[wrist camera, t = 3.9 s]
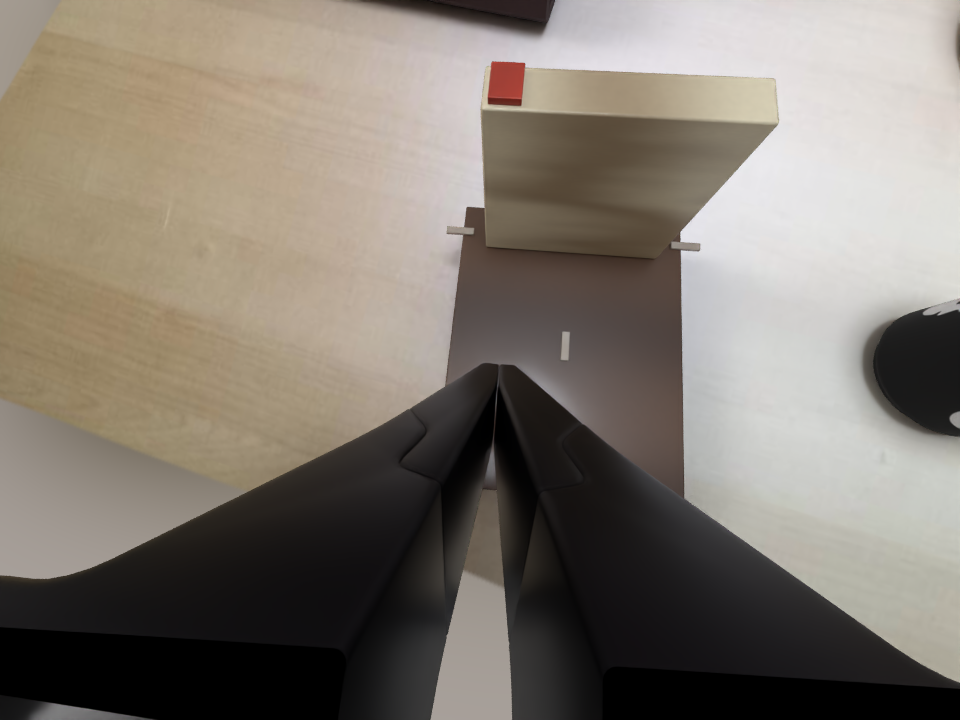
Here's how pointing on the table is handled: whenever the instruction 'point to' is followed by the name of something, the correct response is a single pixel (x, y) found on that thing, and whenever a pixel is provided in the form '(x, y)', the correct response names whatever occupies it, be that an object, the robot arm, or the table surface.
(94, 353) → the table surface
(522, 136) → the red-cornered cream slab
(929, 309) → the beverage can
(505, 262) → the brown flat piece
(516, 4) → the book
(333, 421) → the table surface
